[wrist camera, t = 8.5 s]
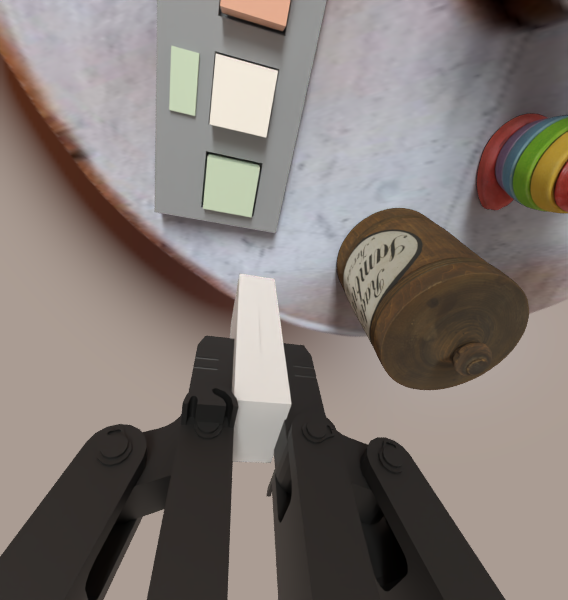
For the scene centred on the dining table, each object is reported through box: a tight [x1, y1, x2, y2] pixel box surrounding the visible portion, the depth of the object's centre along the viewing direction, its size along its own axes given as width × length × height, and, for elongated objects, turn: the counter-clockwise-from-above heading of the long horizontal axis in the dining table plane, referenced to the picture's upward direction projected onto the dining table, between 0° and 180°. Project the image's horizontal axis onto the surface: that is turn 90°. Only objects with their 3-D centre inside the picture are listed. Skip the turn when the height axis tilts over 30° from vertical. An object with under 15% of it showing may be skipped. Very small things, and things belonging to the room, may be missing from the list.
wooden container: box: [337, 208, 529, 390], centre depth 37 cm, size 15×15×22 cm
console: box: [155, 0, 327, 233], centre depth 32 cm, size 26×14×3 cm, turn 167°
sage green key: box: [203, 152, 260, 217], centre depth 36 cm, size 5×5×3 cm
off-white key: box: [210, 54, 278, 137], centre depth 31 cm, size 5×5×3 cm
